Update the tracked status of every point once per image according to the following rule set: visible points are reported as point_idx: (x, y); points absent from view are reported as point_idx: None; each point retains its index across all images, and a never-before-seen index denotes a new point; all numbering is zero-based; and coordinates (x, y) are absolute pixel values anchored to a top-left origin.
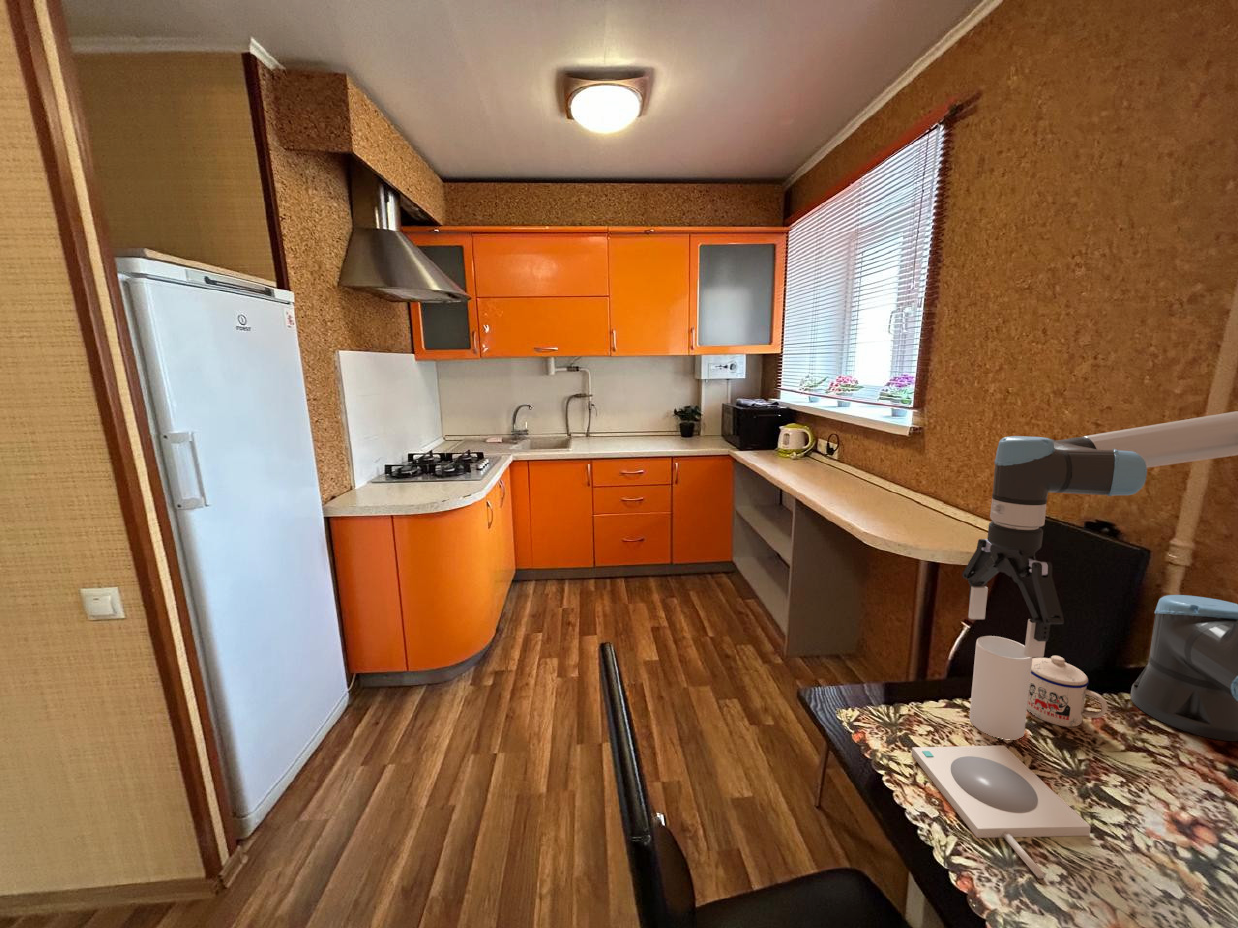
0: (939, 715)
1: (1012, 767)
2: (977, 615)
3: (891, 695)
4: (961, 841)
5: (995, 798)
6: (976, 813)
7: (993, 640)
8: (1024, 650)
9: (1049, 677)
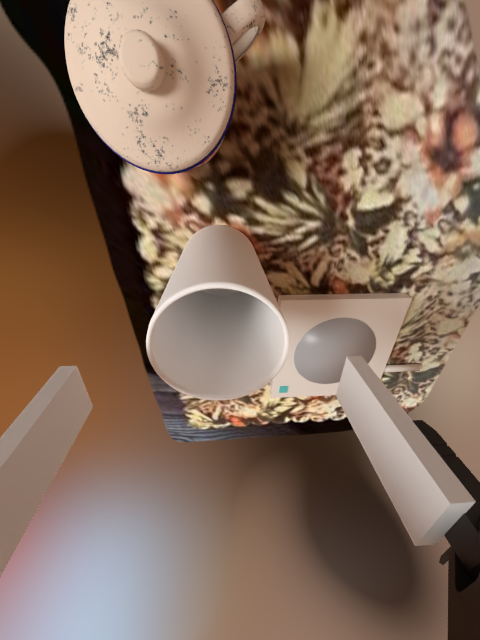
0: None
1: (319, 317)
2: (78, 401)
3: None
4: None
5: None
6: None
7: (153, 331)
8: (342, 406)
9: (201, 153)
